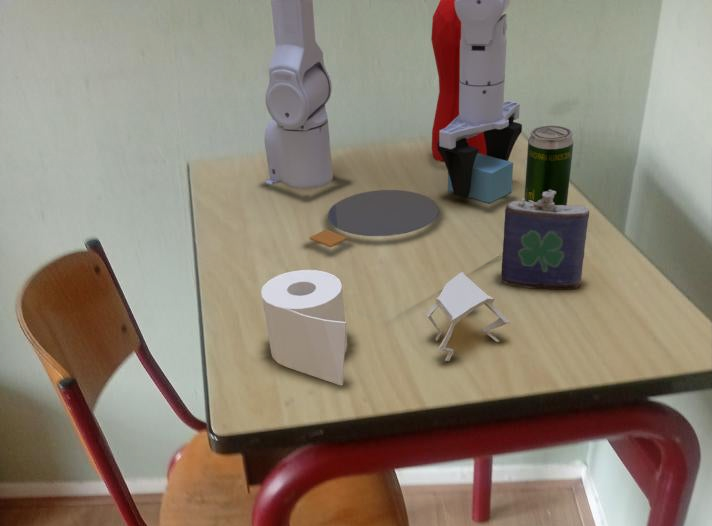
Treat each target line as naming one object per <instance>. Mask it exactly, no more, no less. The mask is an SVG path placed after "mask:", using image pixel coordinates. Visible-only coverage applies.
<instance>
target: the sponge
mask: <svg viewBox="0 0 712 526" xmlns="http://www.w3.org/2000/svg"><path fill="white" fill-rule="evenodd" d="M513 174H514V162H513V161H509V160H508V161H506V160H502V159H498V158H494V157H490V156H487V155H483V154H479V153H477V156H476V158H475V161H474V165H473V169H472V175H471V186H470V193H469V196H468V197H467V198H470V199H473V200H476V201H480V202H483V203H486V204H489V205H491V204H493V203H495V202H496V201H498V200H500V199H502V198H505V197H506V196H508V195H510V194H511V193H512V188H513ZM447 192H449V193H453V194H454V192H453V188H452V184H451V180H450V176H449V173H448V172H447Z"/></svg>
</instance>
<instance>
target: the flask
mask: <svg viewBox="0 0 712 526" xmlns="http://www.w3.org/2000/svg"><path fill="white" fill-rule="evenodd" d="M548 191H549V192H547V191H545V192H543V194H542V196H543V198H542V199H541V200H538V201H537V203H536V202H533V201H531V200H529V202H526V201H525V198H524V197H523V198H521V199H520V200H514V201H510V202H508V203H507V204H506V206H505V209H504V222H503V223H504V225H503V240H502V241H503V242H502V254H501V255H502V258H501V281H502V283H504V284H506V285H510V286H515V287H524V288H529V289H538V288H540V289H548V290H571V289H573V290H574V289H577V288H579V287H580V284H581V282H582V274H583V264H584V258H585V247H586V239H587V232H588V224H589V218H590V210H589V208H588V207H586V206H585V205H580V204H579V205H577V204H575V205H574V204H573V205H572V204H571V205H568V204H567V206H565V205H554V204H555V203H554V202H553V198H554V195H555V194H556V191H552V190H548Z"/></svg>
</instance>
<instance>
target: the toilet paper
mask: <svg viewBox="0 0 712 526" xmlns="http://www.w3.org/2000/svg"><path fill="white" fill-rule="evenodd" d="M260 294H261V300H262V307H263V312H264V317H265V323H266V324H265V325H266V329H267V336H268V342H269V347H270V353H271V358H272V359H273V360H274V361H275V362H276V363H277V364H279V365H281V366H283V367H285V368H288V369H291V370H294V371H297V372H300V373H303V374H305V375H308V376H311V377H313V378H314V377H315V378H317V379H320V380H323V381H326V382H330V383H332V384H335V385H338V386H341V387H342V386H343V385H344V373H345V372H344V371H345V357H346V356H345V355H346V353H347V349H348V337H347V321H346V314H345V303H344V302H345V301H344V293H343V286H342V282H341V279H339V278H338V277H337V276H336V275H334V274H332V273H329V272H327V271H324V270H323V271H322V270H316V269H300V270H298V269H297V270H293V271H292V270H291V271H288V272H285V273H281V274H278V275H276V276H274V277H272V278H271V279H269V280H267V282H265V284H263V286H262V288H261V290H260Z"/></svg>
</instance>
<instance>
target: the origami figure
mask: <svg viewBox="0 0 712 526" xmlns="http://www.w3.org/2000/svg"><path fill="white" fill-rule="evenodd" d="M464 272H465V271H460V272H459V273H458V274H456V275H455V276H454V277H453V278H451V279H450V280H449V281H448V282H447V283H446V284H445V285H444V287H443V288H442V290H441V292H440V294H439V296H437V297H436V298H435V303H434V305H433V306H432V307H431V308H430V310H429V311H427V313H426V317H427V318H428V320H429V321H430V322H431V324H432V325H433V327H434V328H435V329H436V330H437V332H438V334H437V335H436V337H435V339H434V340H435V342H438V341H439V340H440V338H441V335H442V331H441V329H440V328H439V327H438V325H437V323H436V322H435V320H434V318H433V317H432V315H433V314H434V312H435V311H436V310H437V309H438V308H439V309H441V310H440V311H442V312H443V314H444V315H445V316H446V317H447V319H448V320H449V322H450V326H449V328H448V330H447V332H446V334H445V336H444V337H443V339H442V341H441V343H440V345H439V346H438V351H442V352H448V354H447V355H446V357H445V360H444V361H445V362H449V361H450V360H451V358H452V356H453V355H454V352H455V351H454V349H452V348H447V345H448V343H449V340H450V339H451V336H452V333H453V331H454V328H455V325H456V324H457V323H459V322H460V321H461V320H463V319H464V318H465V317H467V316H468V315H469V314H472V312H473V311H475V310H477V309H479V308H480V307H482V306H483V305H484V306H485V307H487V308H488V309H489V310H490V311H491V312H493V314H494V315H496V316H497V317H498V319H496V320H494V321H493V322H491V323H489V324H488V325H486V326H484V327H482V328H481V330H482V331H483V332H484V333H485V334H486V335H487V336H489V337H490V338H491V339H493V340H494V341H495V342H496V343H497V342H500V339H498V338H497V336H494V334H492V333H491V332H490V331H492V330H494V329H497V328H500V327H502V326H504V325H505V326H506V325H508V324H511V321H509V319H508V318H507V317H506V316H505V315H504V314H502V313H503V312H501V311H500V310H499V309H498V307H496V306H495V305H494V304H493V303H494V301H495V298H493V297H492V296H490V295H488V294H487V293H486V292H485V291H483V290H482V289H481V288H480V287H479V286H478V285H477V284H476V283H474V281H472V280H471V279H470V278H469V277H468V276H467V275H465V274H464Z"/></svg>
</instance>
